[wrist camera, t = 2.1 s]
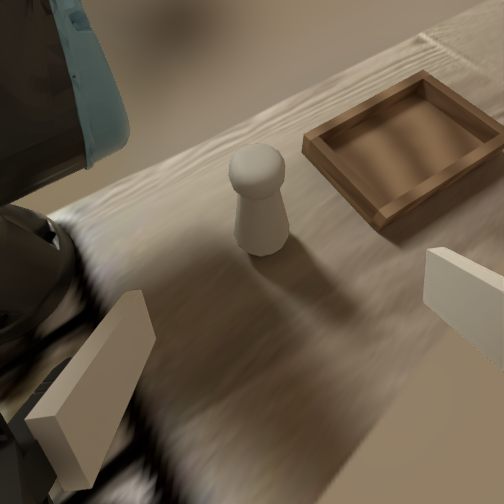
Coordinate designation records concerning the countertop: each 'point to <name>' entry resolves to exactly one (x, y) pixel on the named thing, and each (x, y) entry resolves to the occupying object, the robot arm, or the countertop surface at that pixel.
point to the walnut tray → (402, 147)
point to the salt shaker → (259, 199)
